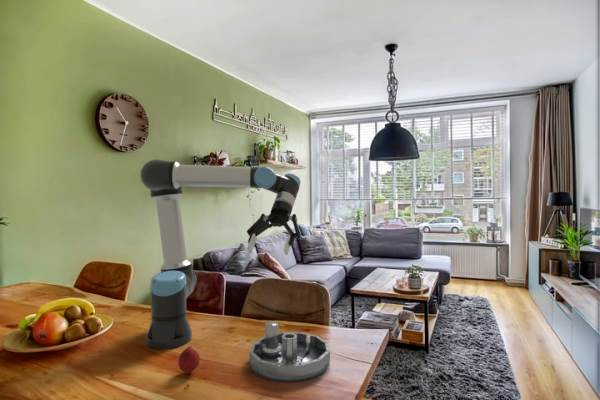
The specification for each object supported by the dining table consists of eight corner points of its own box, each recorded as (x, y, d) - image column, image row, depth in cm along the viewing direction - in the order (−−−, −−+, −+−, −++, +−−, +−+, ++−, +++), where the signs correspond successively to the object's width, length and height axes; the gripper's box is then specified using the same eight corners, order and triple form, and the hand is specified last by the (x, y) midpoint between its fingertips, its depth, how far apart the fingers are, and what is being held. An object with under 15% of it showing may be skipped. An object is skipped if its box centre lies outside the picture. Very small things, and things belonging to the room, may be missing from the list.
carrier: (245, 383, 97) (244, 344, 97) (255, 345, 121) (254, 315, 121) (333, 381, 98) (333, 343, 97) (325, 344, 122) (325, 314, 121)
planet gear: (276, 374, 99) (275, 341, 99) (277, 361, 107) (277, 331, 106) (303, 373, 99) (302, 341, 99) (302, 360, 107) (302, 330, 107)
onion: (193, 379, 100) (192, 350, 100) (174, 377, 101) (174, 349, 101) (203, 369, 105) (202, 342, 105) (185, 367, 106) (184, 340, 106)
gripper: (316, 213, 135) (304, 259, 121) (256, 212, 143) (238, 256, 129) (312, 199, 130) (298, 246, 116) (250, 199, 138) (230, 243, 124)
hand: (266, 251), depth 123 cm, fingers open, 13 cm apart
